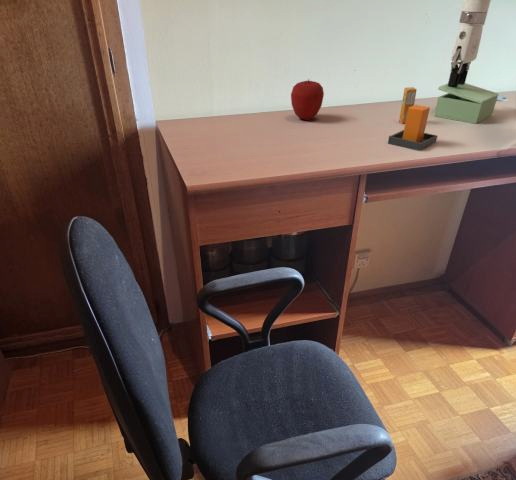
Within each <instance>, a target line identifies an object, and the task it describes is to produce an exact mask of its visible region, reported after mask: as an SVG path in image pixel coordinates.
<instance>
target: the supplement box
mask: <svg viewBox="0 0 516 480" xmlns="http://www.w3.org/2000/svg"><path fill="white" fill-rule="evenodd" d="M416 96H417V88H415V87H414V86H412V87H411V86H410V87H409V86H408V87H404V90H403V96H402V101H401V106H400V107H401V108H400V113H399V119H398V122H400V124H402V125H405V122H406V117H407V112H408V108H409V107H412V106H414V105H415V101H416Z"/></svg>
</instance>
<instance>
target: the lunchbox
mask: <svg viewBox="0 0 516 480" xmlns="http://www.w3.org/2000/svg"><path fill="white" fill-rule="evenodd" d="M497 100H498V96H497V97H495V98H493V99H491V100H489V101H487V102H485V103H483V104H480V103H477V102H474V101H471V100H468V99H465V98H462V97H459V96H456V95H453V94H450V93H447V92H446V93H445V94H442V95H440V96H437V100H436V104H435V108H434V114H433V117H438V118H443V119H448V120H454V121H459V122H464V123H469V124H475V125H476V124H479V123H480V122H482V121H484V120H486V119H488V118H490V117H491V116H493V113H494V110H495V106H496V104H497Z"/></svg>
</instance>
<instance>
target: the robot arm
mask: <svg viewBox="0 0 516 480" xmlns="http://www.w3.org/2000/svg"><path fill="white" fill-rule="evenodd" d="M491 1H492V0H463V3H462V8H461V13H460V16H459V22H458V26H459V28H458V30H457V33H456V37H455V41H454V45H453V47H452V48H453V49H452V52H451V58H450V60H451V61H450V65H451V68H450V74H449V78H448V82H447V84H448V86H449V87H457V86H458V84H461V85H464V84H465V83H466V80H467V76H468V73H469V70H470V65H471V63H472V62H474V61H475V60H476V59H477V57H478V53H479V48H480V44H481V40H482V35H483V28H484V26H485V24H486V21H487V20H486V19H487V16H488V12H489V8H490V4H491ZM461 68H463V69H464V72H463V73H460V71H461Z"/></svg>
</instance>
